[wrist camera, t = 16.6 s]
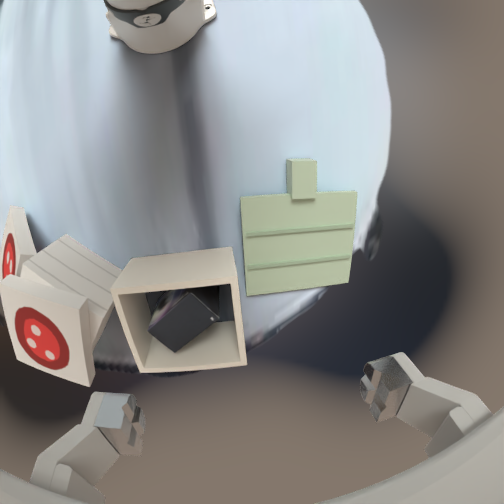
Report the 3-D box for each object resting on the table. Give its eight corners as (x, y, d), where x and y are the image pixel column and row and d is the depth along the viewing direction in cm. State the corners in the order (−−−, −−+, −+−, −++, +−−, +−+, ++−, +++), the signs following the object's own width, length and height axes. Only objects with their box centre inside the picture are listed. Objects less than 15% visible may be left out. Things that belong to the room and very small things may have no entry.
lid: (237, 161, 43) (238, 164, 39) (351, 158, 45) (361, 161, 41) (245, 288, 53) (247, 299, 49) (343, 276, 55) (350, 285, 51)
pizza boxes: (24, 192, 39) (-38, 215, 22) (143, 272, 47) (114, 330, 30) (6, 269, 43) (-42, 307, 26) (109, 340, 51) (84, 402, 34)
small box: (195, 262, 48) (190, 290, 38) (220, 287, 50) (222, 318, 40) (156, 298, 49) (144, 331, 40) (181, 320, 52) (175, 355, 42)
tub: (131, 258, 46) (110, 288, 35) (231, 246, 48) (237, 275, 37) (151, 332, 52) (140, 372, 40) (240, 323, 53) (247, 364, 42)
